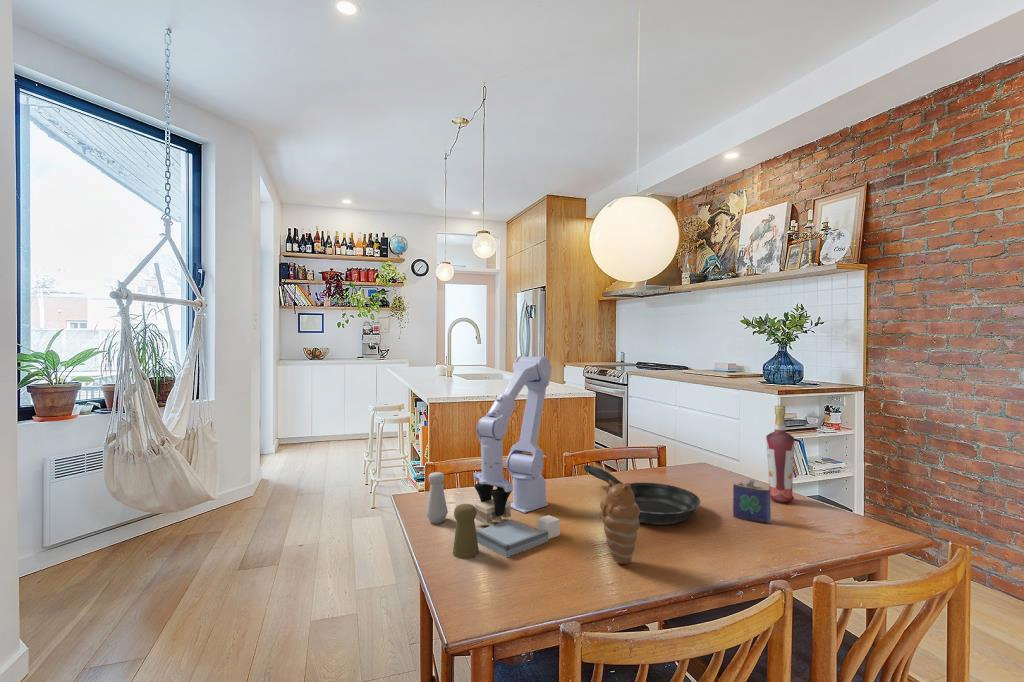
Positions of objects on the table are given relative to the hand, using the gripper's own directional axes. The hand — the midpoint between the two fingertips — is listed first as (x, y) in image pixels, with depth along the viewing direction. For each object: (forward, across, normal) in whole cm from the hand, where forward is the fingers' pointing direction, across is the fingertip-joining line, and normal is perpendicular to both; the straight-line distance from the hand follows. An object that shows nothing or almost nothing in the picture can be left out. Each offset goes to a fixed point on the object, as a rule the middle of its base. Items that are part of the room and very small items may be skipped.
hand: (493, 512), depth 133 cm
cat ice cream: (+3, +37, +7) cm, 38 cm away
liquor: (+4, +43, +74) cm, 86 cm away
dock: (+3, +11, -4) cm, 12 cm away
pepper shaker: (+3, +10, -16) cm, 19 cm away
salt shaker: (+3, -12, -10) cm, 16 cm away
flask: (+3, +44, +53) cm, 69 cm away
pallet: (+2, 0, 0) cm, 2 cm away
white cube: (+3, +15, +6) cm, 16 cm away
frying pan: (+4, +17, +39) cm, 42 cm away
